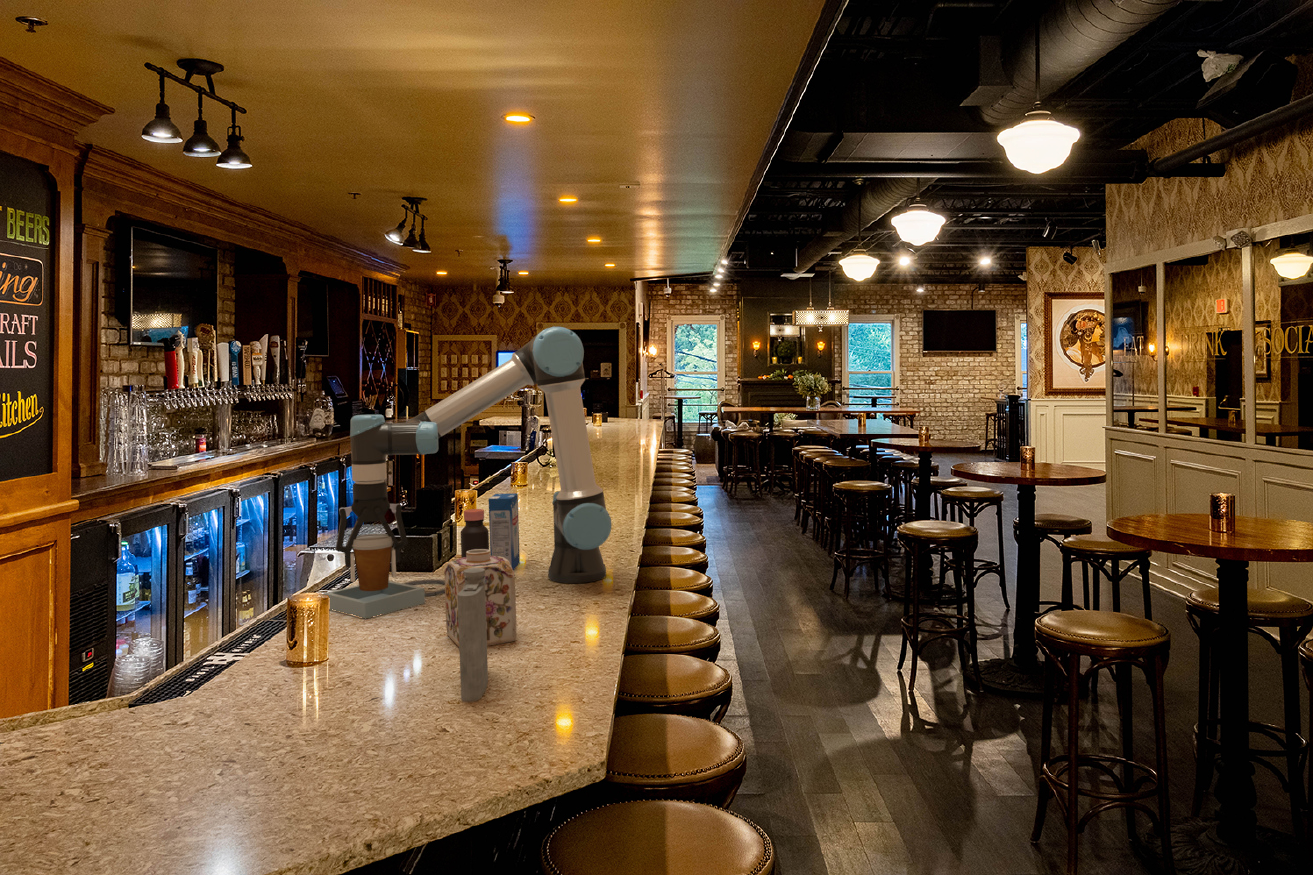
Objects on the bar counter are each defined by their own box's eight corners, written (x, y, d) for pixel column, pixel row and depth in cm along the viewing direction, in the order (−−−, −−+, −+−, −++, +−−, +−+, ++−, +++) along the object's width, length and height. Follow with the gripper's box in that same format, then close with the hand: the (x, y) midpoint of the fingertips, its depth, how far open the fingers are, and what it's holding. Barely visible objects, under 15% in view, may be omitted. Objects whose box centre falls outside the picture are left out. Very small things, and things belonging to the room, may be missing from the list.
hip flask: (468, 669, 152) (464, 559, 151) (491, 667, 153) (488, 558, 151) (460, 702, 137) (455, 580, 135) (485, 700, 137) (481, 579, 136)
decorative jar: (459, 651, 163) (456, 559, 161) (445, 635, 173) (441, 548, 172) (519, 641, 168) (516, 552, 167) (501, 626, 178) (498, 542, 177)
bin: (424, 603, 198) (424, 587, 198) (365, 619, 186) (364, 603, 185) (383, 593, 208) (382, 579, 208) (324, 608, 195) (323, 593, 195)
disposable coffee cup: (397, 590, 194) (396, 538, 193) (354, 595, 190) (352, 542, 189) (392, 581, 203) (390, 532, 202) (350, 585, 199) (348, 535, 198)
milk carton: (513, 570, 230) (511, 498, 229) (490, 571, 230) (488, 498, 229) (519, 562, 240) (517, 493, 239) (498, 563, 240) (495, 493, 239)
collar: (464, 587, 213) (464, 584, 213) (417, 600, 201) (417, 596, 201) (427, 579, 222) (427, 576, 221) (380, 591, 210) (380, 588, 210)
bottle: (457, 592, 208) (454, 511, 206) (472, 585, 214) (470, 507, 213) (480, 594, 205) (477, 513, 204) (495, 587, 212) (493, 508, 210)
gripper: (414, 477, 202) (418, 570, 204) (319, 482, 194) (324, 579, 196) (419, 480, 195) (422, 576, 197) (320, 486, 187) (325, 587, 189)
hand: (373, 578), depth 196 cm, fingers closed on disposable coffee cup, 8 cm apart
